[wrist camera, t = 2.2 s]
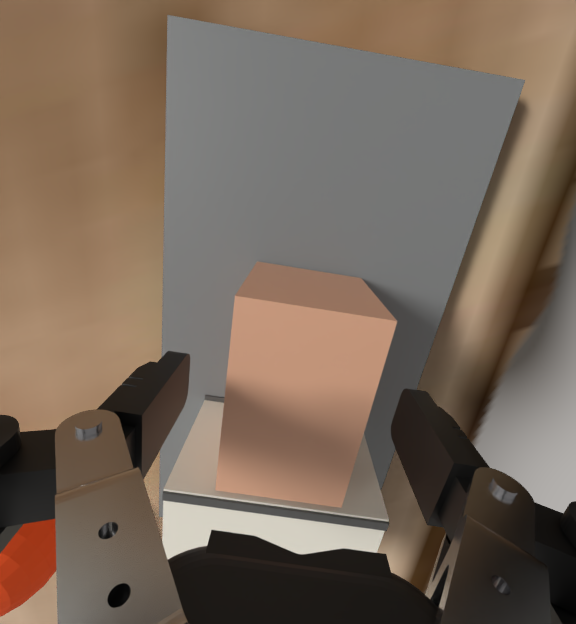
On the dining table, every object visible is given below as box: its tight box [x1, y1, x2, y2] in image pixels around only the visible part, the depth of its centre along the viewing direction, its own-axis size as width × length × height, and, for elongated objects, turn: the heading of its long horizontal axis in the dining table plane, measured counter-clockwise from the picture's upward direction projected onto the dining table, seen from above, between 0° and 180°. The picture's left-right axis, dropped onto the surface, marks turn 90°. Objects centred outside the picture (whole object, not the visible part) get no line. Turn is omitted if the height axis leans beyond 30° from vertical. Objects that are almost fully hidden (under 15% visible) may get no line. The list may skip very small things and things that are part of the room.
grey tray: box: [159, 15, 525, 559], centre depth 14 cm, size 27×14×7 cm, turn 171°
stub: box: [215, 261, 397, 508], centre depth 13 cm, size 8×5×6 cm, turn 171°
